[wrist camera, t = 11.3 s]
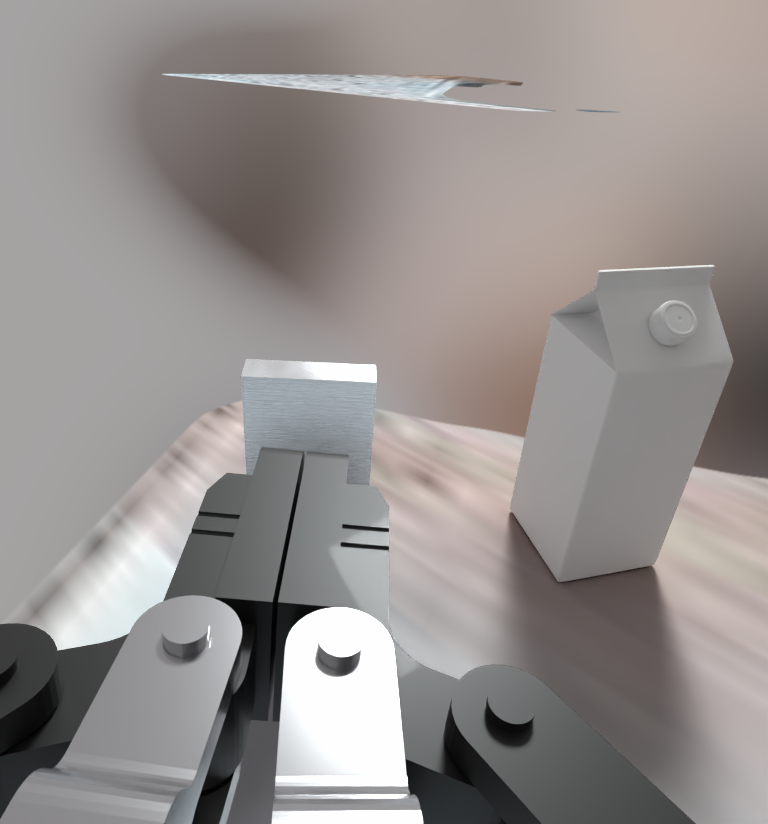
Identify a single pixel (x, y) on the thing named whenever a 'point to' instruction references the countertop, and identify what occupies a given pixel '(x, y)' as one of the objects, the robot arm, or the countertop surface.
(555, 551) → the milk carton
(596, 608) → the countertop surface
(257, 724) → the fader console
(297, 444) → the fader tab
